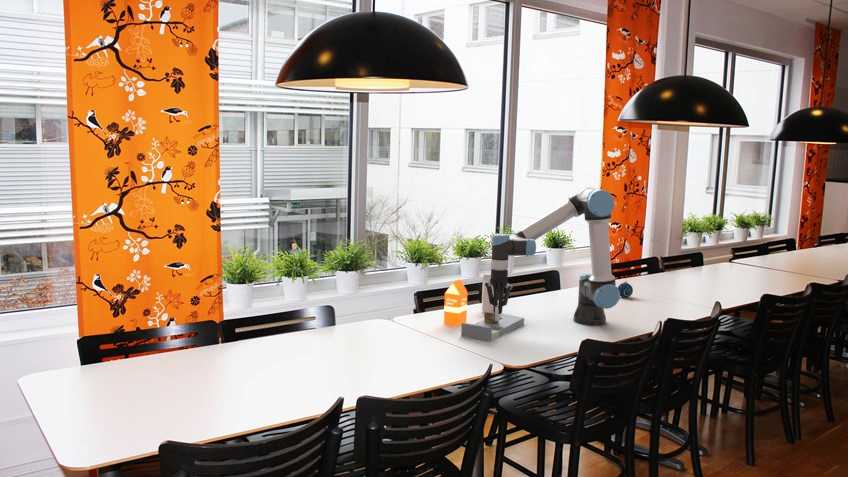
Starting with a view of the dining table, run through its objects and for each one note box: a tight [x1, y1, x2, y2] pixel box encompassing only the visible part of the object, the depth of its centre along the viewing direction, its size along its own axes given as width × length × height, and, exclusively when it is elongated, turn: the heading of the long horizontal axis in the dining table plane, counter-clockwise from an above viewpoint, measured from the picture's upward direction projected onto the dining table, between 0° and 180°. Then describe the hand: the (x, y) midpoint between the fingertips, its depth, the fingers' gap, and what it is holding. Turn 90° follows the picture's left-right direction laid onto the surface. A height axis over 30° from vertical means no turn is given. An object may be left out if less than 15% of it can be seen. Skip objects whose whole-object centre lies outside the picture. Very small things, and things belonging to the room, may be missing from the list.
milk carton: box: [481, 274, 494, 314], centre depth 330 cm, size 7×7×19 cm
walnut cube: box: [483, 310, 499, 324], centre depth 300 cm, size 5×5×5 cm
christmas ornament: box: [617, 280, 634, 299], centre depth 372 cm, size 8×8×10 cm
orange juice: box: [443, 279, 468, 327], centre depth 308 cm, size 8×9×20 cm
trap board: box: [460, 313, 525, 343], centre depth 298 cm, size 14×36×6 cm, turn 149°
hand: (497, 320), depth 298 cm, fingers closed
